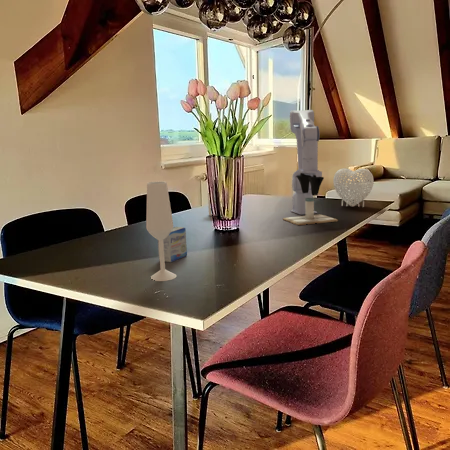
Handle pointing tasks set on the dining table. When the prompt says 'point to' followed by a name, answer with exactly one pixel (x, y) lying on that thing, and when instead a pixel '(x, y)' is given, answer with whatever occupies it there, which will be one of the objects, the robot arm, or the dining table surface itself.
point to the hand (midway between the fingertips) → (310, 194)
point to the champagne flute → (159, 222)
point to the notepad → (303, 221)
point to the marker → (309, 208)
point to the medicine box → (175, 245)
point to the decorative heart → (353, 185)
